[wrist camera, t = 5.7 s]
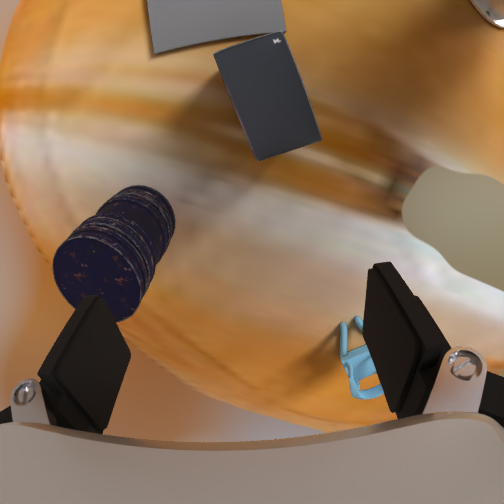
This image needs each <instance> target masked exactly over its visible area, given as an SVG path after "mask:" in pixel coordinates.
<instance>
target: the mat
mask: <svg viewBox="0 0 504 504" xmlns="http://www.w3.org/2000/svg"><path fill="white" fill-rule="evenodd" d="M147 4H148V12H149V20H150V28H151V35H152V42H153V49H154V54H159V53H163V52H167V51H171V50H175V49H179V48H184V47H188V46H193V45H198V44H203V43H208V42H213V41H219V40H225V39H231V38H238V37H246V36H254V35H264V34H269V33H273V32H276V31H279V30H280V31H282V32H283V33H286V26H285V20H284V14H283V9H282V3H281V0H147Z"/></svg>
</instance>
